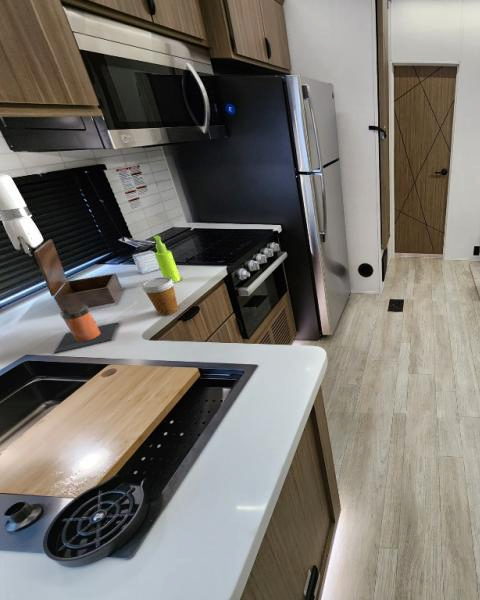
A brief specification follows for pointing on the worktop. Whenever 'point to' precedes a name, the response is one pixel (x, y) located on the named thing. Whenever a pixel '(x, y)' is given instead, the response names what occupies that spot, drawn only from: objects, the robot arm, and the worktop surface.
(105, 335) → the mat
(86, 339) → the jar
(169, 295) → the disposable coffee cup
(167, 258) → the soap dispenser
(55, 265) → the chest lid
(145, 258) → the medicine box
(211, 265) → the worktop surface
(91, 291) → the chest
